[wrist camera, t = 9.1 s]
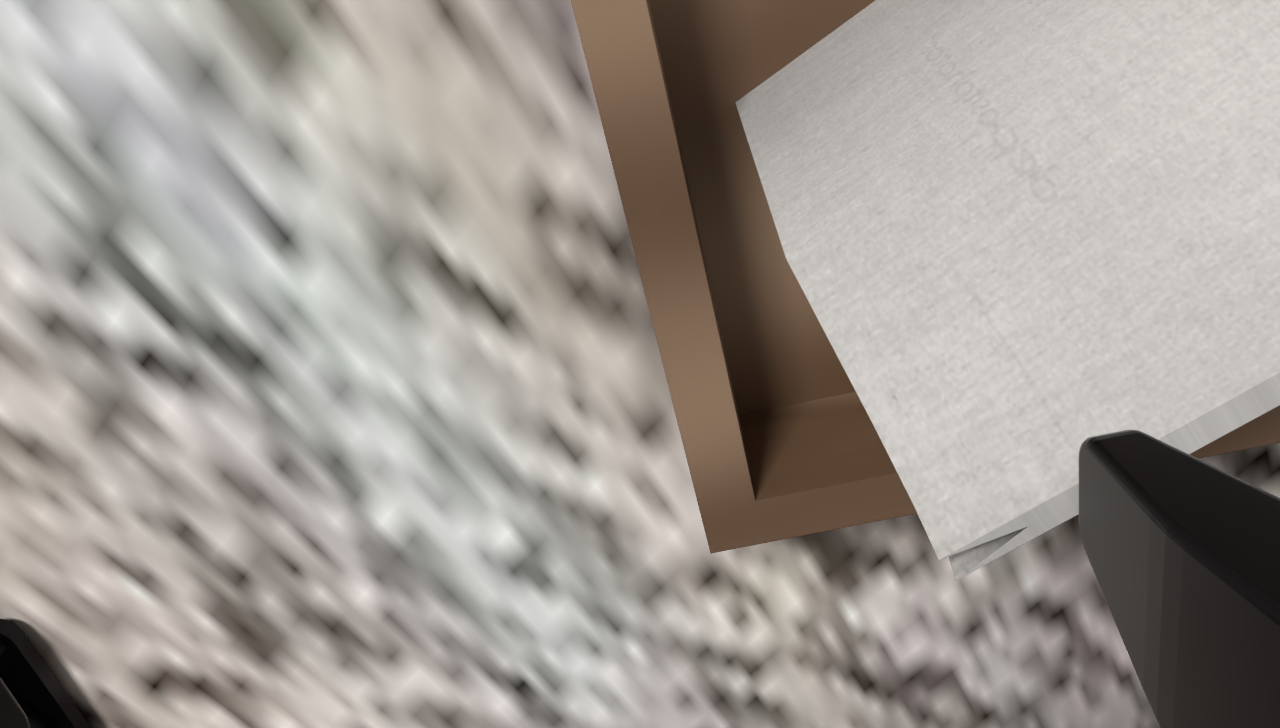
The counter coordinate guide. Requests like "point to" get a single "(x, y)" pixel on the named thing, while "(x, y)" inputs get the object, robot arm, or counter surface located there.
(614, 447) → the counter surface
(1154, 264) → the tea bag
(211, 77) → the counter surface
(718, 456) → the walnut tray
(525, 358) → the counter surface
